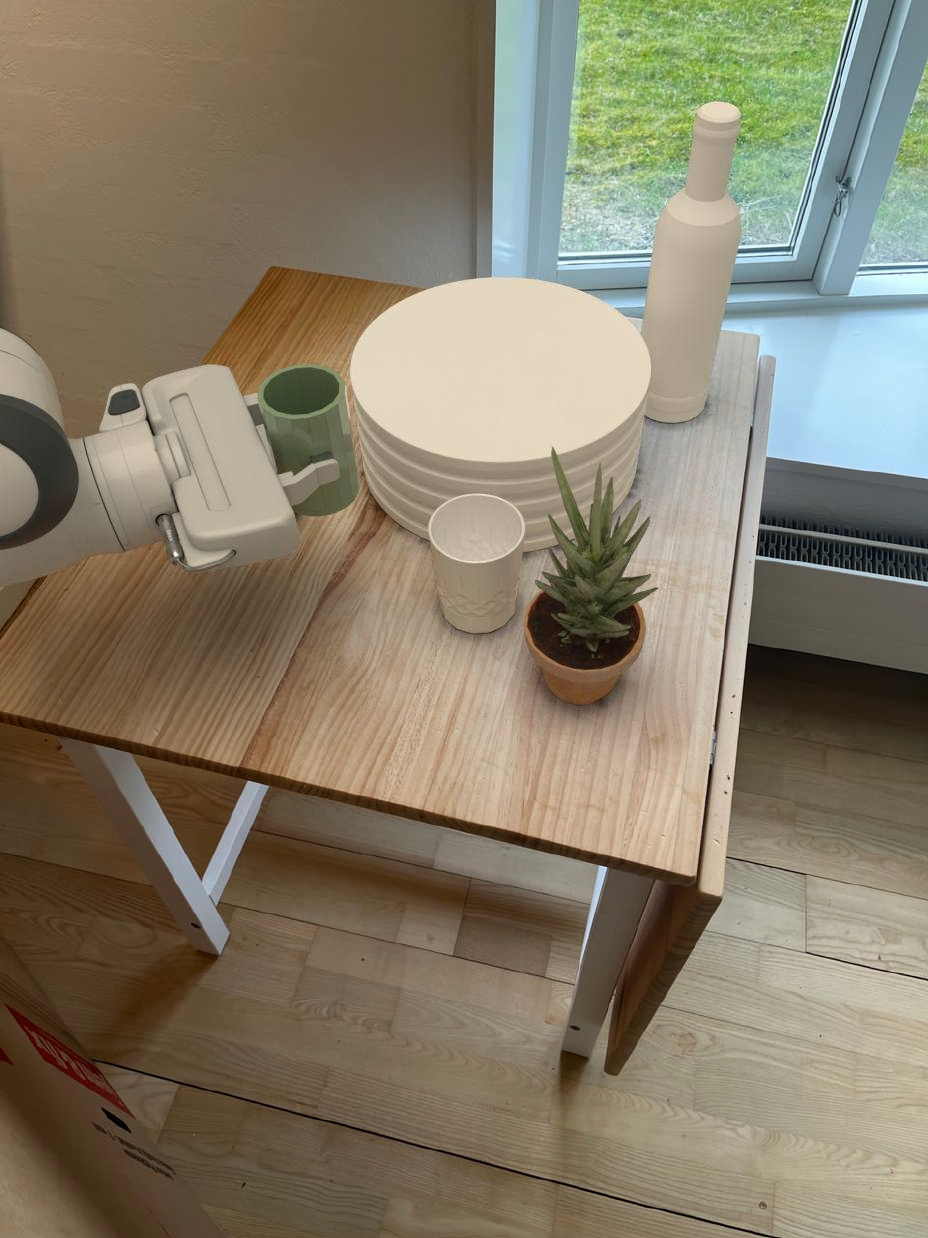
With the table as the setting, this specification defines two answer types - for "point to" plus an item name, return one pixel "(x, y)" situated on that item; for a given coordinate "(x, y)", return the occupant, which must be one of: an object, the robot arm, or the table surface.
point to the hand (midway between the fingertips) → (320, 433)
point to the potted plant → (588, 601)
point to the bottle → (692, 271)
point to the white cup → (477, 560)
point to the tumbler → (310, 431)
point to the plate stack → (499, 400)
